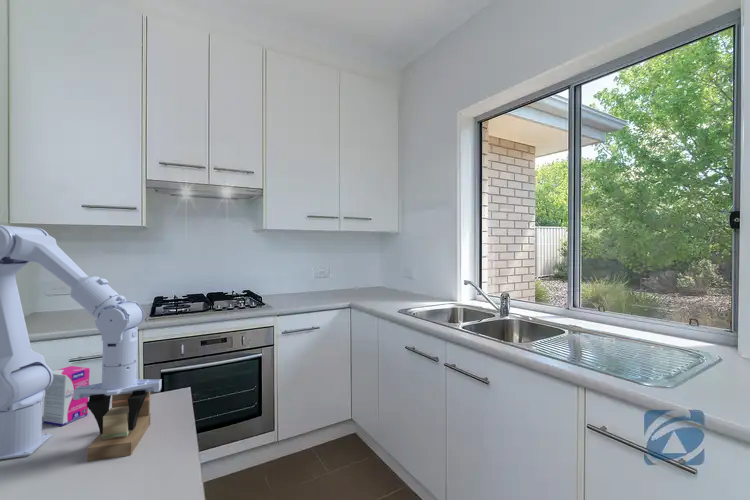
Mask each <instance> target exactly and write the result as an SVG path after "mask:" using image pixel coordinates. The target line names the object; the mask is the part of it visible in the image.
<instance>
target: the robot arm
mask: <svg viewBox="0 0 750 500" xmlns="http://www.w3.org/2000/svg"><path fill="white" fill-rule="evenodd" d="M30 263H37V264H39V265H40V266H42V268H44V269H45V270H47V271H48V272H50V273H51V274H52V275H53V276H54V277H56V278H57V279H58V280H60V281H62V282H63V283H64V284H65V285H67V286H68V287H69V288H70V293H69V294H70V297H71V298H72V299H73V300H74V301H75V302H76V303H78V304H79V305H80V306H81V307H82V308H83V309H84V310H86V311H87V312H88V313H89V314H90V315H91V316H93V317H94V318H95V320H94V321H95V327H96V328H97V330H98V331H99V333H100V334H101V341H102V360H101V362H102V365H101V368H102V369H101V382H100V383H92V384H89V385H87V386H79V387H77V388H76V389H75V390H74V399H73V400H77V399H81V398H85V397H88V402H87V407H88V410H89V411H90V412H91V413H92V415H93V417H94V419H95V420H96V424H97V427H98V429H99V434H103V416H104V415H105V414H106V413H107V412H108V411H109V410H110V406H111V405H110V404H111V399H112V395H117V394H127V393H132V395H131V396H130V397H129V398H128V405H129V431H131V430H134V428H135V427H136V423H137V418H138V415H139V412H140V409H141V406H142V404H143V402H144V400H145V398H146V396H147V394H148V392H149V391H150V392H153V393H156V392H157V393H158V392H160V391H161V390H162V380H163V379H162V378H161V379H158V378H157V379H142V378H140V379H139V378H137V377H138V376H137V373H138V330H139V327H138V326H140V325H141V324H142V323H143V320H144V317H145V311H144V309H143V308H142V306H141V305H140V304H139V302H137V301H135V300H127V298H126V296H124V295H120V294H119V293H118V292H117V291H116V290H115V289H113V288H112V287H111V286H110V285H109V284H108V283H109V281H108V279H106V278H100V276H97V275H94V276H89V275H88V274H86V272H84V270H82V269H81V267H80V266H79V265H78V264H77V263H75V262H74V260H73V259H72V258H70V256H68V254H67V253H66V252H64V250H63V249H62V248H61V247H60V246H58V243H57V239H56V238H54V237H53V236H52V235H49V233H48V232H47V231H46V230H45V229H43V228H40V227H35V226H32V227H27V226H25V227H24V226H15V225H14V226H12V225H3V224H0V460H4V459H5V460H6V459H12V458H20V457H28V456H31V455H32V454H33V453H34V452H35V451H36V450H38V448H39V447H41V445H43V444H44V443H45V442H47V440H49V439H50V438H51V437H52V435H53V434H52V432H51V433H50V432H49V433H43V429H42V428H43V404H44V403H43V399H44V397H45V390H46V389H48V388H49V387H50V385H51V384H52V381H53V373H52V371H53V370H52V368H51V367H49V366H48V364H47V363H46V359H45V356H44V355H42V354H41V353H38V352H36V351H35V350H33V349H32V345H31V341H30V337H29V332H28V328H27V324H26V319H25V315H24V311H23V306H22V302H21V297H20V292H19V289H18V288H19V287H18V284H17V280H16V279H17V278H16V275H17V274H18V273H19V272H20V271H21V270H22V269H23V268H24V267H26V266H27V265H29V264H30Z"/></svg>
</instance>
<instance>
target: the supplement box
mask: <svg viewBox="0 0 750 500" xmlns="http://www.w3.org/2000/svg"><path fill="white" fill-rule="evenodd" d="M90 369H91V368H89V367H83V366H76V365H75V366H74V365H70V366H66V367H63V368H58V369H57V370H52V373H53V381H52V384H51V385H50V387H49V388H48V389H46V390H45V396H44V398H43V399H44V403H43V416H42V424H45V425H50V426H51V425H52V426H57V427H64V426H66V425H68V424H70V423H72V422H75V421H77V420H79V419H82V418H84V417H86V416H88V410H89V408H88V407H87V402H88V401H89V397H85V398H81V399H77V400H73V399H74V390H75V389H76V388H77V387H79V386H87V385H90V372H91V371H90Z"/></svg>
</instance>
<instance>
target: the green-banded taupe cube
mask: <svg viewBox="0 0 750 500" xmlns="http://www.w3.org/2000/svg"><path fill="white" fill-rule="evenodd" d="M129 433H130V431H129V406H125V407H115V408H112V407H111V408H109V411H108V412H107V413H106V414H105V415H104V416H103V435H102V438H103V440H104V439H112V438H120V437H127V435H128V434H129Z"/></svg>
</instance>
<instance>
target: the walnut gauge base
mask: <svg viewBox="0 0 750 500" xmlns="http://www.w3.org/2000/svg"><path fill="white" fill-rule="evenodd" d="M131 395H132V393H127V394H117V395H111V408H115V407H125V406H129V405H128V398H129V397H130V396H131ZM151 415H152V413H151V391H149V392H148V394H147V396H146V398H145V400H144V402H143V404H142V406H141V409H140V412H139V415H138V418H137V423H136V427H135V428H134V430H131V431H130V433H129V434H128V435H127V437H120V438H112V439H104V440H103V438H102V435H103V434H100V433H99V434H98V435H97V436H96V437H95V439H94V440H93V441H92V442H91V443H90V445H89V446H88V447H87V448H86V449H87V452H86V455H87V457H86V461H87V462H94V461H99V460H107V459H113V458H119V457H120V458H121V457H127V456H132V454H133V452H134V451H135V449H136V448H137V446H138V445H139V443H140V441H142V440H141V439H142V438H143V436H144V435H145V434H146V431H147V430H148V428H149V427H150V425H151Z"/></svg>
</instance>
